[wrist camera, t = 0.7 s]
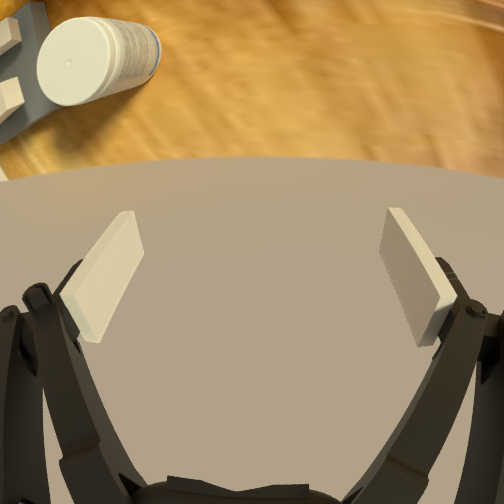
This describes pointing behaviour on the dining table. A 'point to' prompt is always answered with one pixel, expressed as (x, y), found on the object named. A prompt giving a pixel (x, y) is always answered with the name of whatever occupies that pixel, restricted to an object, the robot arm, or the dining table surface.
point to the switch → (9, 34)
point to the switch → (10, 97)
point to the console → (26, 71)
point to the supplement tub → (96, 59)
